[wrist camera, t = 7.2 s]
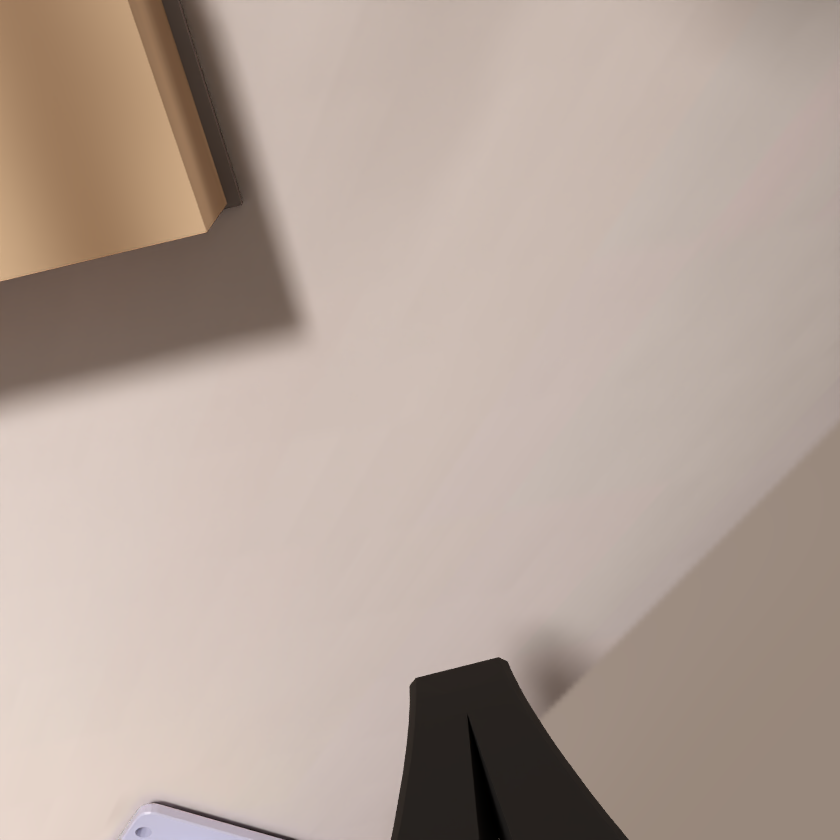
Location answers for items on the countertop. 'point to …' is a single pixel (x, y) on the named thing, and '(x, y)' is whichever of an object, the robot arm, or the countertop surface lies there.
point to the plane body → (103, 132)
